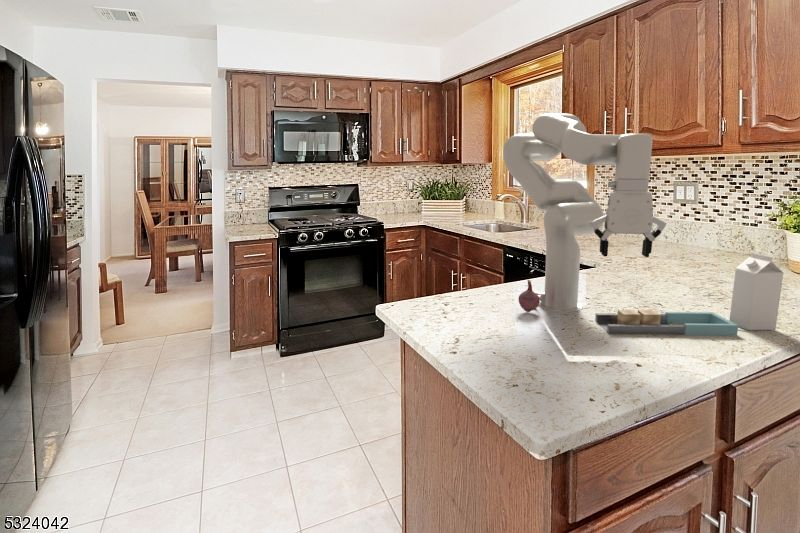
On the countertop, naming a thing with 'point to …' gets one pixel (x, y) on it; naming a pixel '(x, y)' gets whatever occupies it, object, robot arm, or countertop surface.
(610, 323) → the rail
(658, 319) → the chip
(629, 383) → the countertop surface
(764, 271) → the milk carton
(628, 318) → the chip
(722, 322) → the tray
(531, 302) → the vegetable
